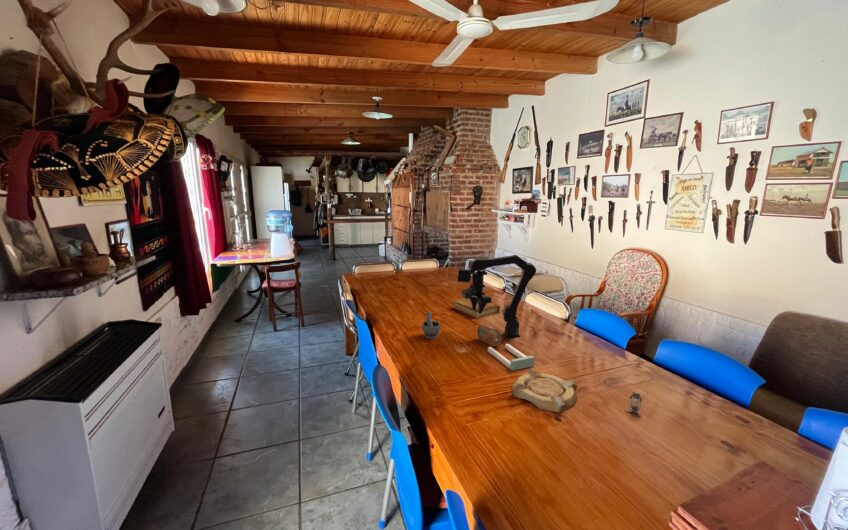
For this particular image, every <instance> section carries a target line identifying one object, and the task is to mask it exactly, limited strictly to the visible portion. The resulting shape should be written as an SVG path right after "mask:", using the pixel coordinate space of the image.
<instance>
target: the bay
mask: <svg viewBox="0 0 848 530" xmlns="http://www.w3.org/2000/svg"><path fill="white" fill-rule="evenodd" d="M504 349H506V350H508V352H510V353H511V354H513V355H514V356H516V358H513V359H510V360H509V359H507V358H506V357H505V356H504V355H502V354H501V353H500V352H499V351H497V350H496V349H495V348H493V346H488V347H487V352H488V353H489V354H491V355H492V356H493V357H494V358H496V359H497V360H498V361H500V362H501V363H502V364H503V365H504V366H505V367H507V368H508V369H509V370H511V371H516V370H521V369H526V368H532V367H535V356H533V355H528V356H527V355H525V353H522V352H521V351H520V350H518V349H517V348H515V347H513V346H512V345H511V344H509V343H505V346H504Z"/></svg>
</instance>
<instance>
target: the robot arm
mask: <svg viewBox="0 0 848 530" xmlns="http://www.w3.org/2000/svg"><path fill="white" fill-rule="evenodd" d="M514 264H515V265H516V266H517V267H519V268H520V269H521V273H520V278H519V281H518V283H517V286H516V288H515V291H514V293H513V295H512V297H511V299H510V302H509V303H508V305H507V304H504V308H503V309H502V316H503V320H504V322H505V326H504V332H503V335H505V336H506V337H508V338H509V339H514V338H521V335H520V322H519V319H518V317H517V312H518V306H519V305H520V302H521V300H522V297H523V296H524V293H525V291H526V289H527V286H528V284H529V282H531V280H532V279H533V278H534V276H535V274H536V273H537V269H536V266H535V265H534V264H533V263H532V262H527V261H526V260H525V259H523V258H521V257H520V256H519V255H517V254H512V255H507V256H505V255H504V256H500V257H492V258H489V257H487V258H486V257H477V258H475V259H473V261H472V265H471V266H470V267H469V268H468V269H464V268H463V269H462V268H459V269H458V270H457V271H458V273H457V274H458V275H457V283H469V282H471V283H470V285H469V287H466V288H465V289H463V290H461V294H462V295H461V296H462V298H463V299H468V298H469V299H470V301H471V305H472V308H473V310H475V308H476V305H477V304H478V309H479V314H481V313H482V311H483V309H484V307H485V306H486V304H487V303H493V302H492V298H491V296H488V295H485V292H484V288H485V287H486V285H485V284H484V276H488V272H487V271H486V270H487V269H488V268H489V269H490V268H492V267H499V266H505V265H506V266H507V265H514Z"/></svg>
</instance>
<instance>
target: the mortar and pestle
mask: <svg viewBox="0 0 848 530" xmlns="http://www.w3.org/2000/svg"><path fill="white" fill-rule="evenodd" d="M425 315H426V318H425V319H426V321H422V323H421V331H422V332H423V333H424V337H425V338H426V339H429V340H435V339H437V338H438V334H439V333H440V330H441V326H442V324H441V323H440V321H436V320H432V318H433V317H432V312H431V311H427V312H425Z"/></svg>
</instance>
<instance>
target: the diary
mask: <svg viewBox="0 0 848 530" xmlns="http://www.w3.org/2000/svg"><path fill="white" fill-rule="evenodd" d="M453 303H454V306H453V309H454V310H456V311H458V312H461V313H462V314H466V315H467V316H470V317H473V318H474V319H481V318H485V317H489V316H493V315H497V314H500V313H501V306H500V305H499V304H496V303H494V302H491V303H487V304H486V306H485V307H484V309H483V311H482V313H481V314H479V309H478V304H477V305H476V308H475V310H473V308H472V305H471V301H470V299H469V298H468V299H465V298H461V299H460V298H459V299H455V300H453Z"/></svg>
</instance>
